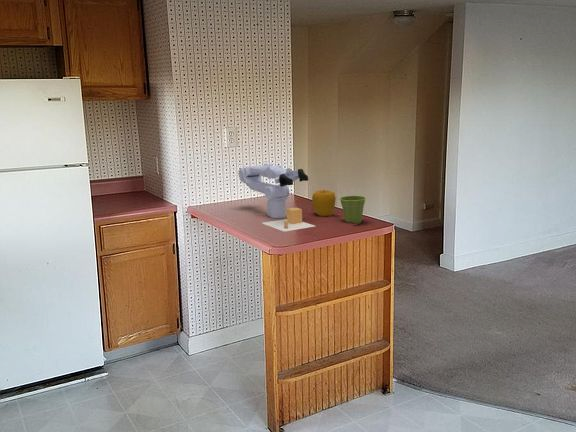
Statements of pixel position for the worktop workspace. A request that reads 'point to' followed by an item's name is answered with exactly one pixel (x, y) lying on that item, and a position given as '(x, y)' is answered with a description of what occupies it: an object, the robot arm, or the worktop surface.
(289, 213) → the wooden toy cube
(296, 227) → the plate
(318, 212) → the apple
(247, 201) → the worktop surface
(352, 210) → the plant pot
